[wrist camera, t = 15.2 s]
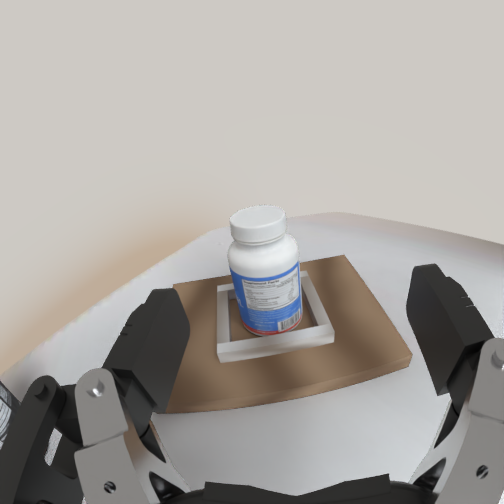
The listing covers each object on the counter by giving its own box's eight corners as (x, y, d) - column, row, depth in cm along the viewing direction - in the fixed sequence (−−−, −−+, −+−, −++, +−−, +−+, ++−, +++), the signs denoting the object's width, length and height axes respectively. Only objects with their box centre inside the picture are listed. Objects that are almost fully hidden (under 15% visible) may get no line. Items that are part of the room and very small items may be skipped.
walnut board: (343, 265, 33) (344, 245, 31) (408, 366, 19) (416, 344, 17) (176, 294, 32) (170, 275, 31) (157, 413, 18) (142, 395, 17)
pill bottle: (247, 299, 28) (229, 204, 23) (303, 297, 27) (295, 198, 22) (236, 339, 23) (210, 233, 18) (302, 339, 22) (295, 227, 17)
